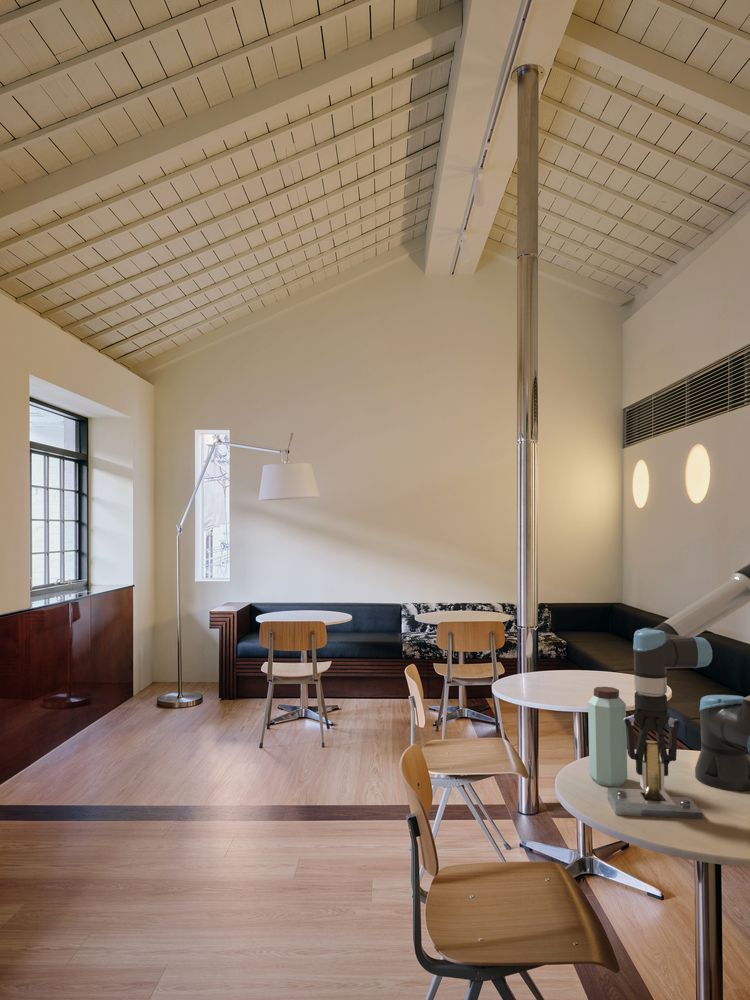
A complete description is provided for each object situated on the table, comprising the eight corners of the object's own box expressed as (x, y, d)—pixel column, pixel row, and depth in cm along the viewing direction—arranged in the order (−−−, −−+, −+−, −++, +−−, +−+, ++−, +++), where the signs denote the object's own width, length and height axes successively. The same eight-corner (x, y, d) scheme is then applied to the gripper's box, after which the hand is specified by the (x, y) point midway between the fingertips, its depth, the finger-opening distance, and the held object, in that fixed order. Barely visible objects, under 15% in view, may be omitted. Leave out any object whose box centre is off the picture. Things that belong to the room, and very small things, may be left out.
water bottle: (630, 789, 176) (628, 694, 177) (591, 786, 178) (589, 692, 179) (624, 775, 186) (622, 685, 187) (587, 773, 188) (585, 684, 189)
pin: (658, 797, 164) (657, 740, 165) (662, 803, 161) (661, 745, 162) (643, 796, 165) (642, 740, 166) (647, 802, 161) (645, 744, 162)
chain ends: (689, 803, 166) (689, 788, 166) (702, 819, 157) (702, 803, 157) (607, 799, 169) (607, 785, 169) (615, 814, 160) (615, 799, 160)
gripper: (680, 690, 167) (682, 784, 166) (612, 688, 169) (614, 780, 168) (690, 697, 159) (692, 796, 158) (619, 695, 162) (621, 792, 161)
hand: (652, 787), depth 163 cm, fingers closed on pin, 3 cm apart
